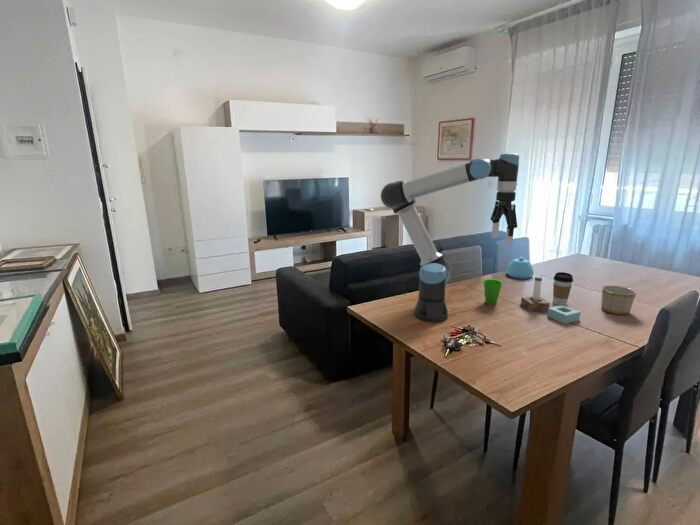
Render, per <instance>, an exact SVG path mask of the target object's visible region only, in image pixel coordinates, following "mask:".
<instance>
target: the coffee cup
mask: <svg viewBox="0 0 700 525" xmlns="http://www.w3.org/2000/svg"><path fill="white" fill-rule="evenodd" d="M573 282H574V278H573V275H572V274H571V273H568V272H564V271H563V272H562V271H558V272H556V273H555V274H554V277H553V293H552V294H553V295H552V296H553V297H552V304H554V305H555V306H560V305H564V306H566V305H567V304H568V300H569V296H570V293H571V289H572V283H573Z"/></svg>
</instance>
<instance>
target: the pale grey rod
mask: <svg viewBox="0 0 700 525" xmlns="http://www.w3.org/2000/svg"><path fill="white" fill-rule="evenodd" d="M542 281H543V278H542V277H540V276H535V277H534V282H533V290H532V296H533V297H532V301H533V302H539V298H540V297H541V296H540V295H541V289H542Z"/></svg>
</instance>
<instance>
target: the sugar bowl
mask: <svg viewBox="0 0 700 525" xmlns="http://www.w3.org/2000/svg"><path fill="white" fill-rule="evenodd" d="M506 273H507V275H508V276H509V277H511V278H514V279H522V280H523V279H526V280H527V279H530V278H532V277H533V275H534V267H533V266H532V264H531V262H530V260H528V259H525V257H523V256H518V258H514V259H513V260H511V262H509V264H508V266H507V268H506Z"/></svg>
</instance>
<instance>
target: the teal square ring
mask: <svg viewBox="0 0 700 525" xmlns="http://www.w3.org/2000/svg"><path fill="white" fill-rule="evenodd" d="M546 314H547V315H546V316H547V317H548V318H550V319H553V320H554V321H557V322H560V323H561V324H564V325H566V323H567V324H570V323H574V322H578V321H580V320H581V318H580V317H581V311H579V310H577V309H574V308H572V307H568V306H566V305H565V306H564V305H555V306H551V307H549V308H548V311H547V313H546Z"/></svg>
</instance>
